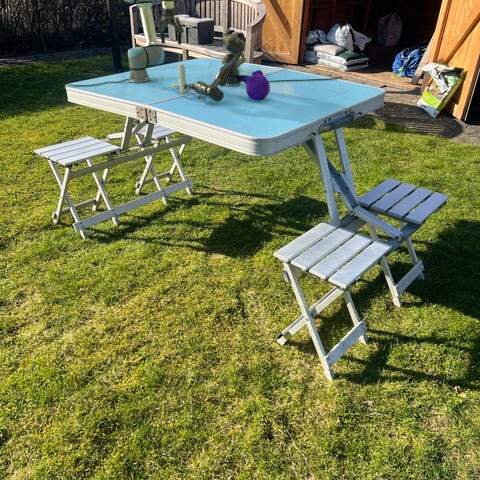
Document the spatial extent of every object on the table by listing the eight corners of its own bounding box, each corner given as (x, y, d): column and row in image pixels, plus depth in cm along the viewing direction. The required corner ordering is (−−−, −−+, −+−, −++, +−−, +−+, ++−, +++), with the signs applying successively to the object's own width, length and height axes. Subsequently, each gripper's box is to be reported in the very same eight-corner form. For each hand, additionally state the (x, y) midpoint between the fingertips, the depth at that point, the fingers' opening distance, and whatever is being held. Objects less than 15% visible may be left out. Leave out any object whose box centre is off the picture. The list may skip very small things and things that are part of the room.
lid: (170, 87, 317) (170, 84, 316) (176, 86, 319) (176, 83, 318) (174, 88, 313) (174, 85, 312) (180, 87, 316) (179, 84, 315)
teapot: (225, 72, 363) (224, 52, 355) (218, 70, 371) (218, 50, 364) (248, 69, 372) (247, 50, 364) (241, 67, 381) (240, 48, 373)
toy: (254, 92, 298) (269, 106, 277) (229, 87, 290) (243, 101, 270) (261, 68, 290) (277, 80, 269) (236, 62, 282) (250, 75, 262)
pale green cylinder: (187, 91, 305) (185, 63, 296) (185, 92, 302) (183, 64, 293) (181, 91, 306) (179, 63, 297) (179, 92, 303) (177, 64, 293)
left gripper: (149, 8, 294) (153, 43, 304) (180, 9, 283) (183, 45, 294) (156, 8, 299) (160, 42, 310) (187, 8, 289) (190, 44, 299)
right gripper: (212, 80, 281) (200, 76, 293) (191, 83, 275) (180, 79, 287) (212, 93, 285) (200, 88, 297) (192, 96, 279) (181, 91, 291)
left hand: (171, 44), depth 302 cm, fingers open, 13 cm apart
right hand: (190, 84), depth 292 cm, fingers open, 8 cm apart
